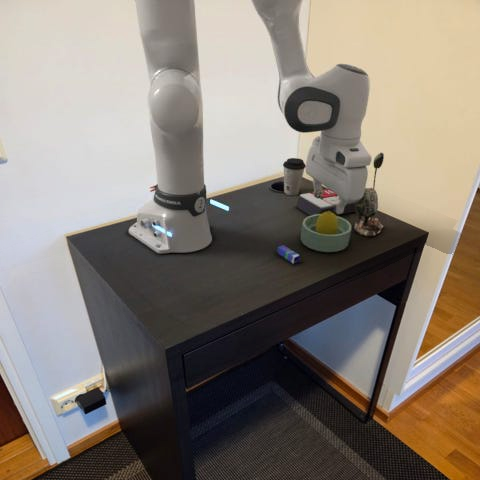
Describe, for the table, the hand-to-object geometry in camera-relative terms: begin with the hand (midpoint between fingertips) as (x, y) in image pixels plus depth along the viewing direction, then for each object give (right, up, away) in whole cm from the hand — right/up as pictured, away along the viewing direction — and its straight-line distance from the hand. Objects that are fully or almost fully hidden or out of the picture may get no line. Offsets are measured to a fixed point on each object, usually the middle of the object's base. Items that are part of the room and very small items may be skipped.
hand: (327, 204), depth 109 cm
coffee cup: (-5, +12, +32) cm, 35 cm away
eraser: (-10, -13, 0) cm, 17 cm away
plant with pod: (+13, -4, +12) cm, 18 cm away
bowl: (0, -8, +6) cm, 10 cm away
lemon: (0, -8, +6) cm, 10 cm away
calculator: (+4, +4, +23) cm, 24 cm away
